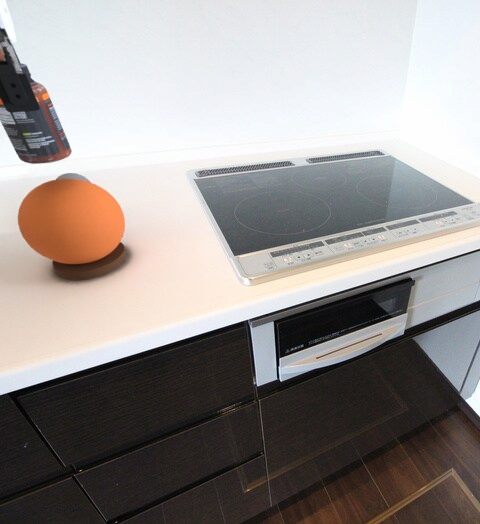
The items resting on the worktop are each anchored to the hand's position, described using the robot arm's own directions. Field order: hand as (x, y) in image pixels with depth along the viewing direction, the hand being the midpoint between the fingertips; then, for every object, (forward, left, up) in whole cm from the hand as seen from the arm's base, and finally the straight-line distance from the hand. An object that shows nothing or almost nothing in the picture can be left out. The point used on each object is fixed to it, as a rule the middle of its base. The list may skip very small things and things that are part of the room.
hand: (22, 103), depth 46 cm
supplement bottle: (0, 0, -7) cm, 7 cm away
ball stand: (0, 0, -24) cm, 24 cm away
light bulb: (+1, +14, -25) cm, 28 cm away
